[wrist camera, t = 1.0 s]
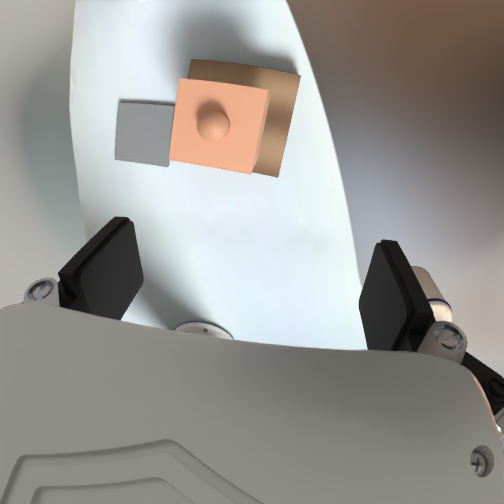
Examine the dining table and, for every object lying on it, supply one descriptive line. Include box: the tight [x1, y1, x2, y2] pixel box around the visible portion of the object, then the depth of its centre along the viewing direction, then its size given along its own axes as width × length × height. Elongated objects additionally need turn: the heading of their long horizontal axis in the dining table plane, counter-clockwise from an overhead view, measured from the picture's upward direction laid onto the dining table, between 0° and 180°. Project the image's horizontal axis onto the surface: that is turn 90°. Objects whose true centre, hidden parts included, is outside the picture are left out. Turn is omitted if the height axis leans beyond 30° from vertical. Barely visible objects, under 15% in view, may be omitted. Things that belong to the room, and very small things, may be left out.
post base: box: [188, 59, 301, 178], centre depth 28 cm, size 12×12×11 cm
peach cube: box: [169, 78, 272, 174], centre depth 24 cm, size 7×7×7 cm
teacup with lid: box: [411, 266, 452, 322], centre depth 38 cm, size 12×9×12 cm
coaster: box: [115, 102, 175, 167], centre depth 34 cm, size 8×8×1 cm
